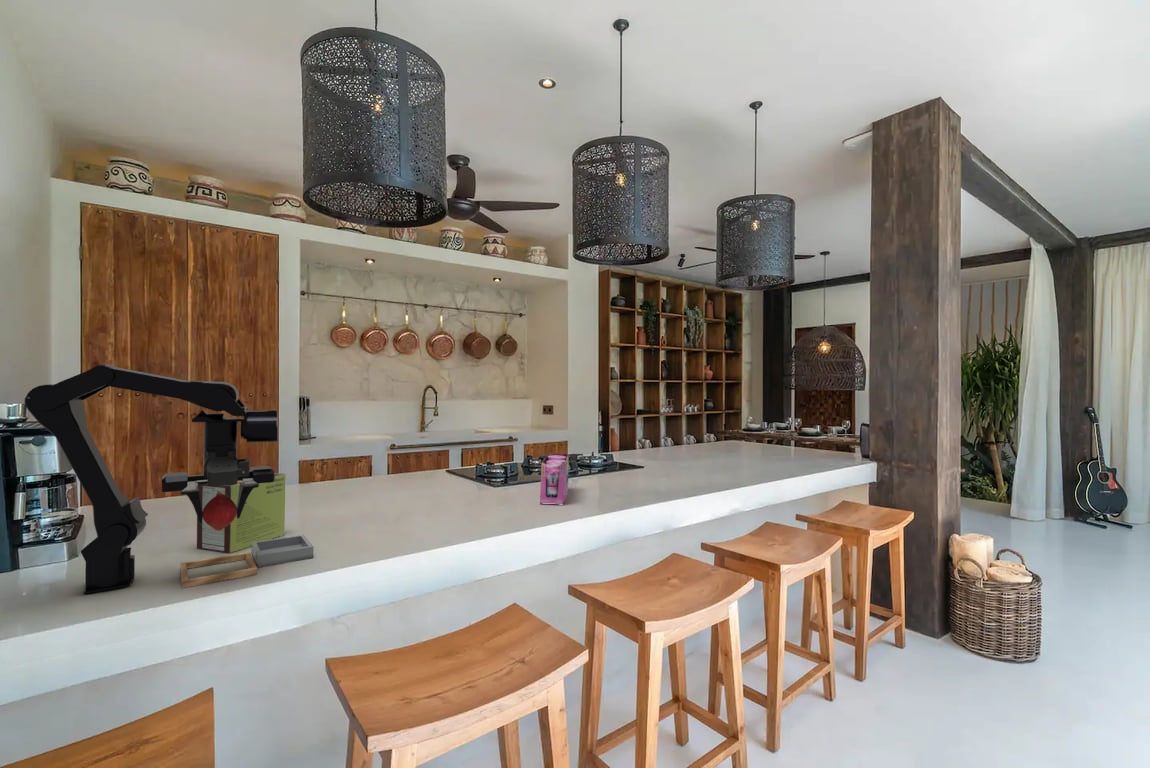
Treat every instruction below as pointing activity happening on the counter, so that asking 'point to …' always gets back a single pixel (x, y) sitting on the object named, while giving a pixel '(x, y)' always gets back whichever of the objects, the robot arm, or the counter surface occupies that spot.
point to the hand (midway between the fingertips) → (219, 520)
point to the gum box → (554, 478)
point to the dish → (281, 550)
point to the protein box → (245, 516)
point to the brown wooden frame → (217, 577)
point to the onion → (219, 511)
